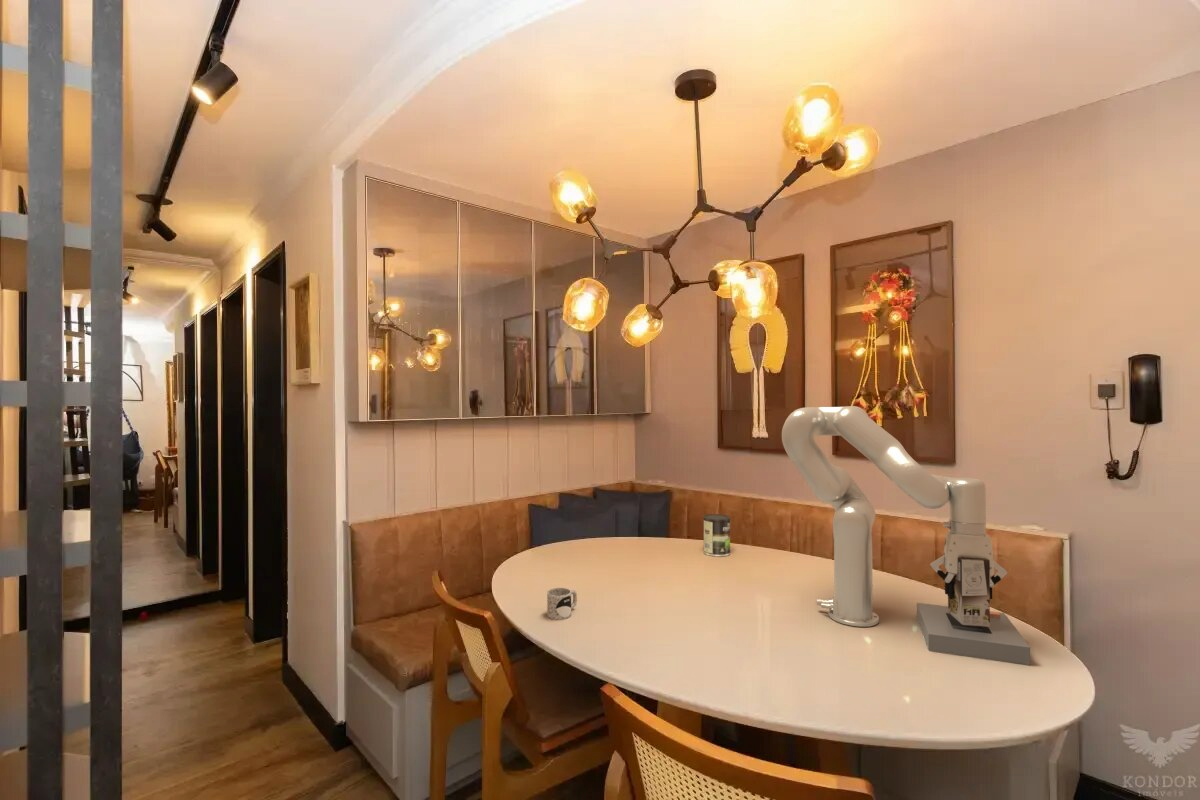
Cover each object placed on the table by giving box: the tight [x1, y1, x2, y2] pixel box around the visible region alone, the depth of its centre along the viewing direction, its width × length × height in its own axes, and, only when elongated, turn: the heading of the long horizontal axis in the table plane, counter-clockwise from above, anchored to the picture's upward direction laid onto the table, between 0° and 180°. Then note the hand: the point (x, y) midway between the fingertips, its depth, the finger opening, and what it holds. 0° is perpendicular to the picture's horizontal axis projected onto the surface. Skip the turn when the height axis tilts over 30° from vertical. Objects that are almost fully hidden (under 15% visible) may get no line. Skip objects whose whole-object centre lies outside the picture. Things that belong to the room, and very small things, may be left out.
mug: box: [546, 587, 578, 621], centre depth 161 cm, size 10×7×7 cm
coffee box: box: [947, 557, 991, 627], centre depth 142 cm, size 9×6×16 cm
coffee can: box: [702, 513, 731, 558], centre depth 221 cm, size 10×10×14 cm
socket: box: [916, 602, 1031, 666], centre depth 142 cm, size 20×22×5 cm
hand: (968, 598), depth 142 cm, fingers closed on coffee box, 7 cm apart
